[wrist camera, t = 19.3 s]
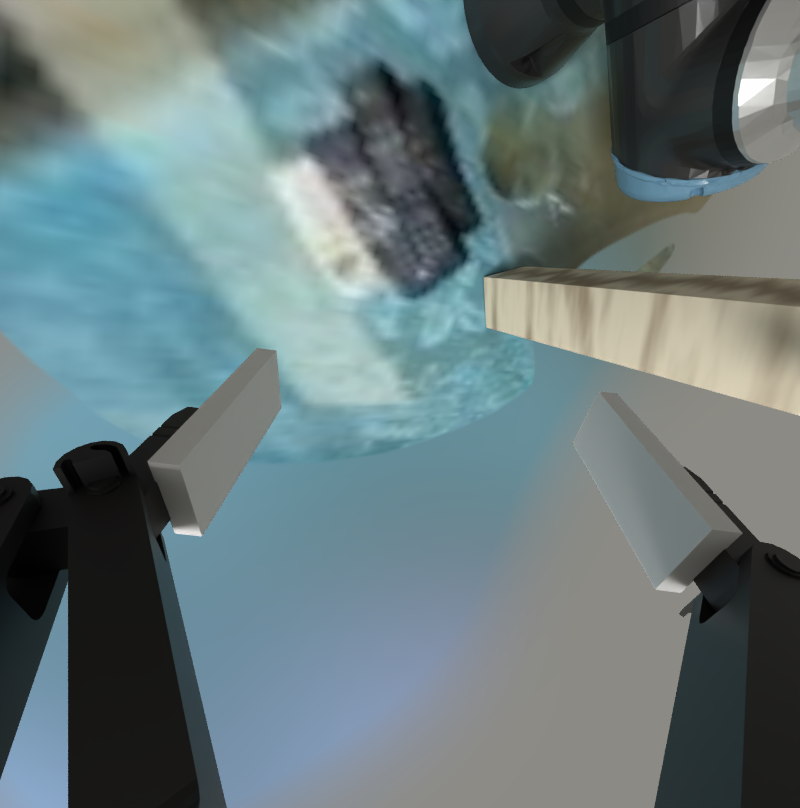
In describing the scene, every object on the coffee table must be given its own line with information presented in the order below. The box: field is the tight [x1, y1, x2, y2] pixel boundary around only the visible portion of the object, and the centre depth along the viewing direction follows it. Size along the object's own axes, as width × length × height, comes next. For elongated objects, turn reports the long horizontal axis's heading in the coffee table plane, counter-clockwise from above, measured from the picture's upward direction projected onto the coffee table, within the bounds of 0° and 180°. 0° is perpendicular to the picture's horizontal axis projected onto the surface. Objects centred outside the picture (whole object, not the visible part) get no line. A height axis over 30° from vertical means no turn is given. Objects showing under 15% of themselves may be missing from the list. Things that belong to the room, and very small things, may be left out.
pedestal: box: [484, 266, 800, 416], centre depth 35 cm, size 8×8×36 cm
